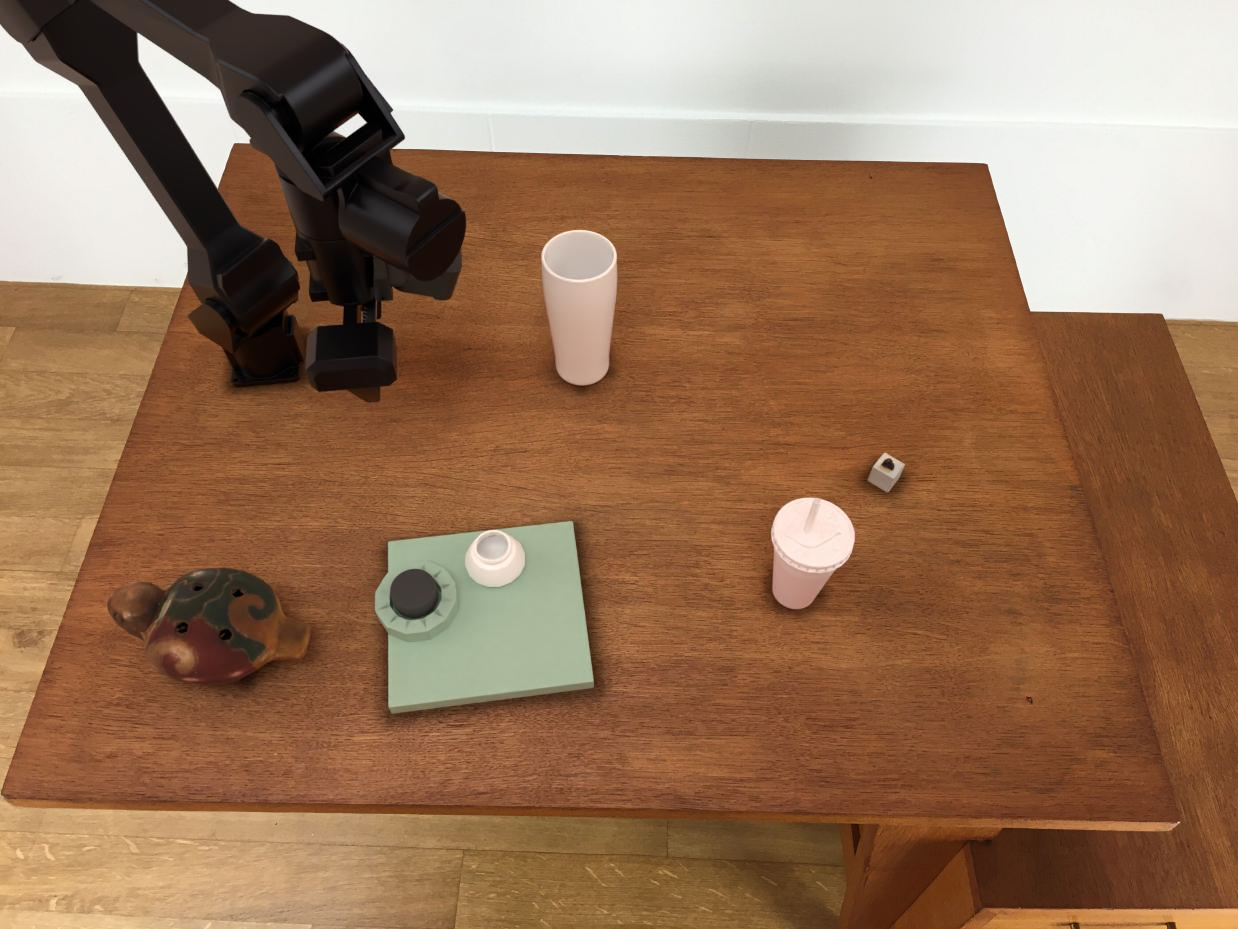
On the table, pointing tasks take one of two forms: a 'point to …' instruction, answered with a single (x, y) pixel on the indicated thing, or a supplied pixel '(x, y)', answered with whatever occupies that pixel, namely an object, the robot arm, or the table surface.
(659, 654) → the table surface
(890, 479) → the cube with dark pebbles
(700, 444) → the table surface
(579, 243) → the drinking glass
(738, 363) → the table surface
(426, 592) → the power button
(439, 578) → the scale
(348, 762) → the table surface
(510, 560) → the lidless jar
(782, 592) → the smoothie
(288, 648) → the multicoloured rounded piece
